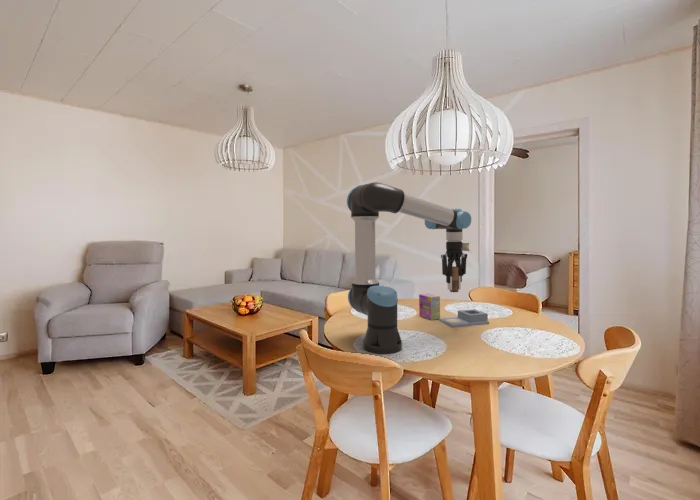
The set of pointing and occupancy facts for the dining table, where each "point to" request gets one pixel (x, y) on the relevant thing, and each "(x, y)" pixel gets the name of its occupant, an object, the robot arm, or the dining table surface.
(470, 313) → the socket board
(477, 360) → the dining table surface
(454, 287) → the peg
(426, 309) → the box
